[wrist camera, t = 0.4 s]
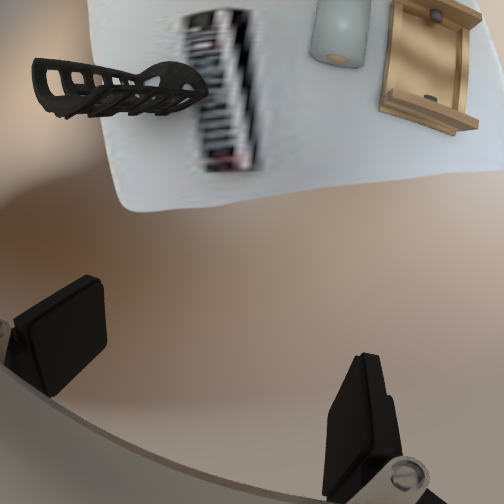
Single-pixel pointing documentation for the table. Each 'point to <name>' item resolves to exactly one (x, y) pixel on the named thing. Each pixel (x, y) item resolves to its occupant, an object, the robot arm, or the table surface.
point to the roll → (341, 32)
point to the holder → (116, 89)
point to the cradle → (429, 64)
